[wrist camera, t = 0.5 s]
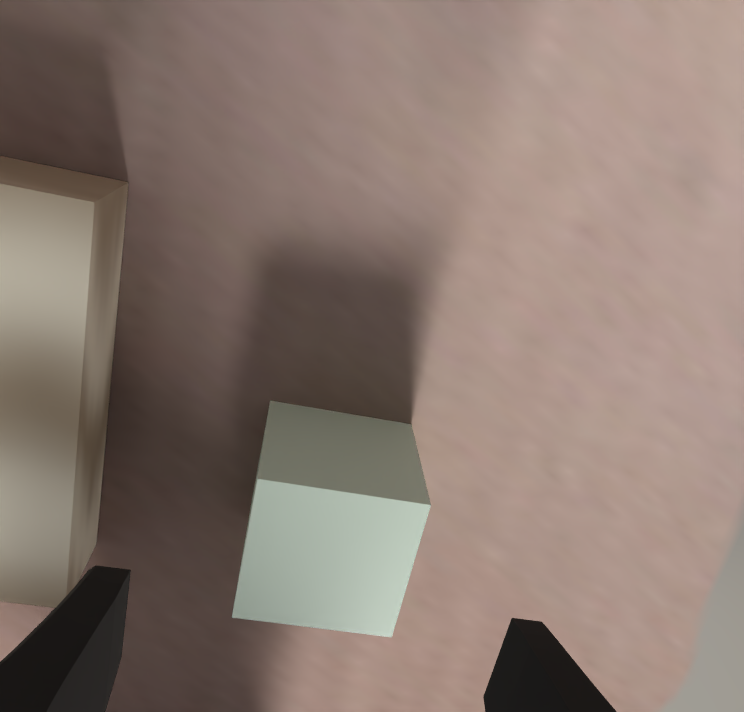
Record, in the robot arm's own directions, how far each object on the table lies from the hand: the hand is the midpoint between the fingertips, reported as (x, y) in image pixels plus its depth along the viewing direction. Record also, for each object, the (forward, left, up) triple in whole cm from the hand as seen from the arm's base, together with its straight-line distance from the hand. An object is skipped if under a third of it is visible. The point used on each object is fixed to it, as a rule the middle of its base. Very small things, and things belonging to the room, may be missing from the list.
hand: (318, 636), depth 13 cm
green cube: (-2, -1, -10) cm, 10 cm away
